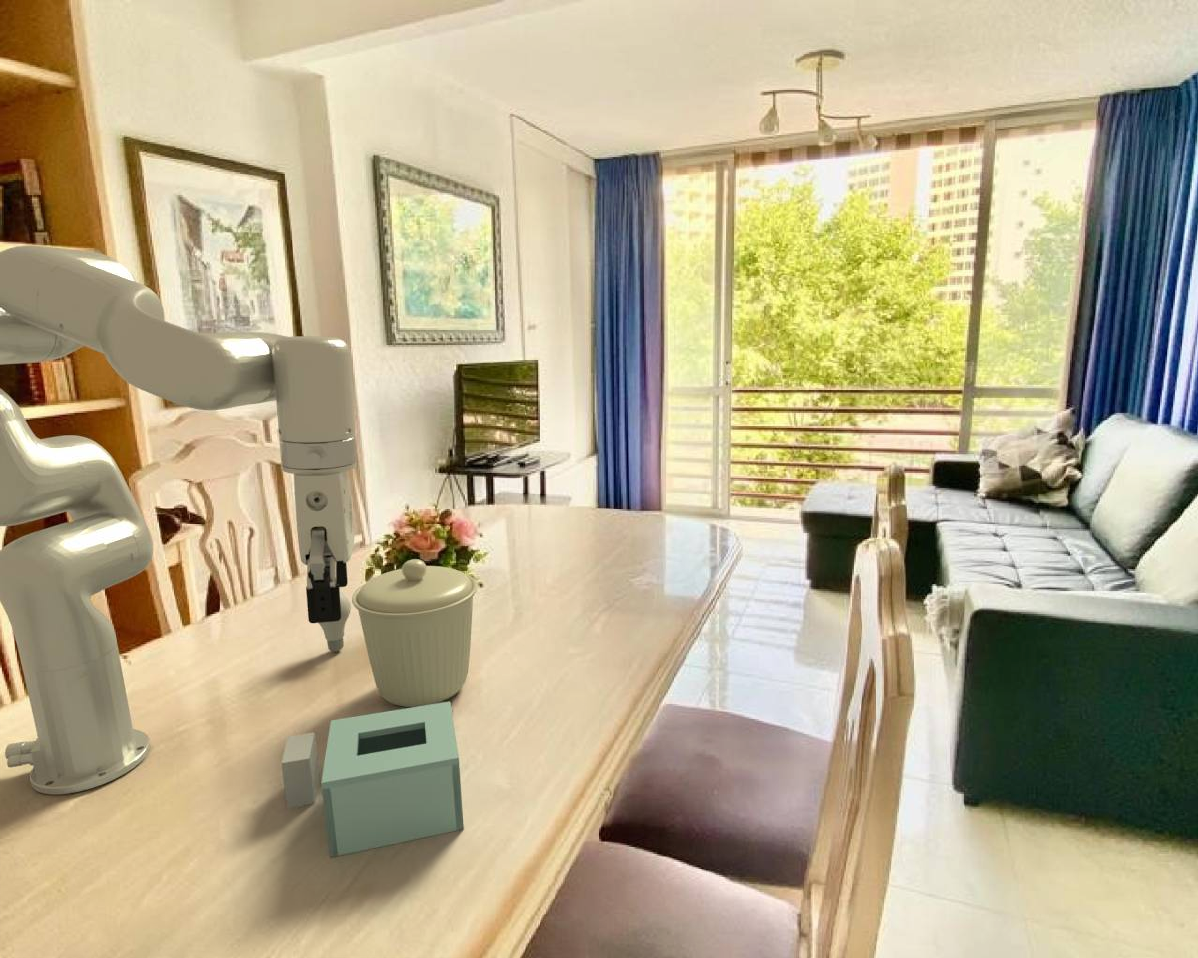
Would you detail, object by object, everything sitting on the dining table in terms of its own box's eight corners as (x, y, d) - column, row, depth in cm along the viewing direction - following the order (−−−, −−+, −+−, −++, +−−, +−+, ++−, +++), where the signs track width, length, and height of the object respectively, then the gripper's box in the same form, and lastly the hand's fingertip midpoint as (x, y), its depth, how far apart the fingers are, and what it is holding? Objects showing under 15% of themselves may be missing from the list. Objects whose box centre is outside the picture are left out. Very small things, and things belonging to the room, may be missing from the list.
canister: (359, 732, 96) (344, 589, 91) (364, 671, 112) (352, 548, 108) (490, 710, 100) (482, 573, 96) (476, 655, 117) (468, 536, 113)
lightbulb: (342, 660, 116) (336, 599, 114) (310, 658, 117) (302, 597, 115) (361, 644, 122) (356, 586, 119) (330, 642, 123) (324, 584, 121)
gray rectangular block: (314, 803, 81) (309, 758, 80) (287, 808, 81) (281, 763, 79) (319, 774, 87) (314, 732, 85) (293, 779, 86) (288, 736, 84)
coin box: (330, 857, 73) (321, 782, 71) (338, 786, 84) (330, 720, 82) (463, 828, 77) (458, 757, 75) (454, 764, 88) (450, 701, 86)
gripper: (351, 470, 67) (360, 633, 71) (360, 439, 83) (367, 573, 87) (266, 472, 65) (281, 640, 69) (292, 441, 81) (303, 578, 85)
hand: (329, 602), depth 78 cm, fingers open, 9 cm apart
